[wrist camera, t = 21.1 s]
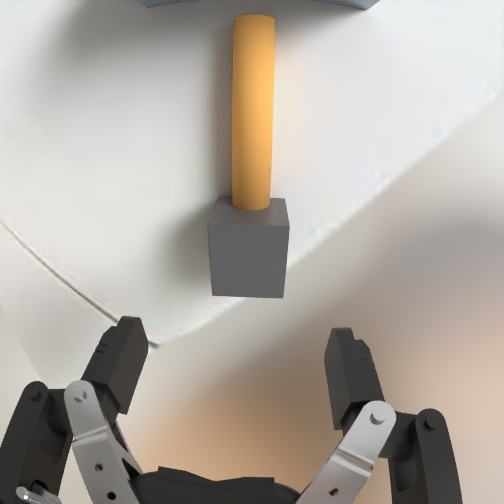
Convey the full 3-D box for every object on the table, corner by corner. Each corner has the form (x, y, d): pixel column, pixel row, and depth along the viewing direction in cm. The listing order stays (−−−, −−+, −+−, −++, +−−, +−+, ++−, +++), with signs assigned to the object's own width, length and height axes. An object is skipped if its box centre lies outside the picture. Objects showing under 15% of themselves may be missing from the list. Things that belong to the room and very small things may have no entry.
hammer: (221, 258, 22) (212, 295, 18) (219, 25, 14) (205, 4, 10) (280, 261, 22) (283, 298, 18) (291, 25, 14) (299, 5, 10)
